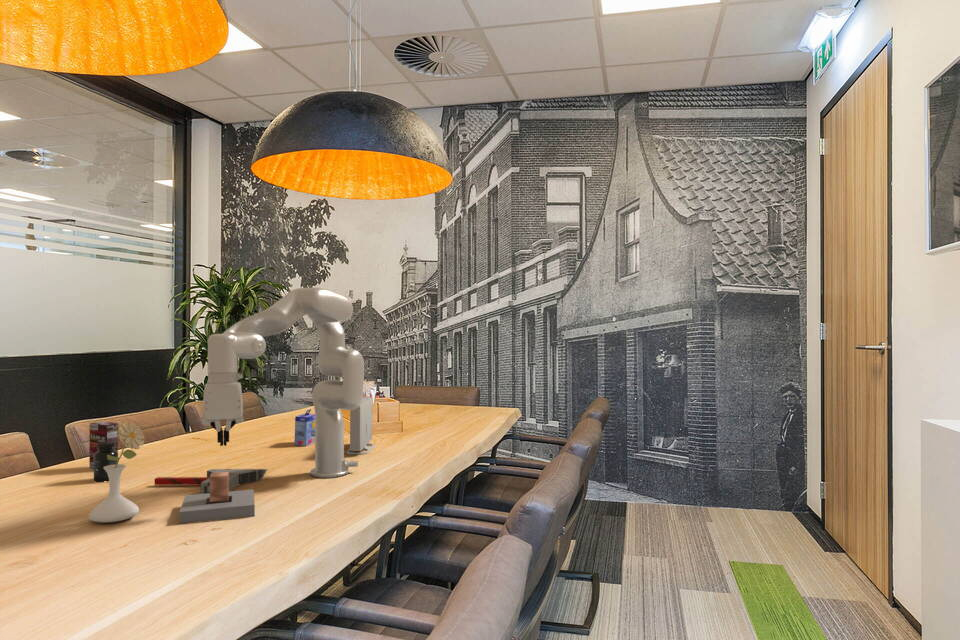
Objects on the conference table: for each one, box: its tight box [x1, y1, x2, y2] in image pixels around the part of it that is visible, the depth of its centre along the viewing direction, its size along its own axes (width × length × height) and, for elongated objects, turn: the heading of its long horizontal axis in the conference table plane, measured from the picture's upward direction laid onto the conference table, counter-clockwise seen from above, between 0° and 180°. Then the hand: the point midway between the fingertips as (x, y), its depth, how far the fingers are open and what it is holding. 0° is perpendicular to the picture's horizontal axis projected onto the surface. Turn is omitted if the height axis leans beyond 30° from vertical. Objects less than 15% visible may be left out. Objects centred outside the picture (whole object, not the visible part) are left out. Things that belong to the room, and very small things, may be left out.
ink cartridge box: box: [293, 408, 315, 447], centre depth 261 cm, size 10×6×14 cm, turn 171°
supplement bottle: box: [93, 442, 119, 483], centre depth 201 cm, size 7×7×12 cm
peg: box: [209, 472, 229, 504], centre depth 169 cm, size 5×5×10 cm
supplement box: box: [88, 421, 119, 469], centre depth 217 cm, size 9×5×16 cm, turn 68°
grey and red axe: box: [154, 468, 268, 494], centre depth 197 cm, size 24×4×30 cm
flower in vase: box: [88, 421, 146, 524], centre depth 162 cm, size 13×11×25 cm
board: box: [179, 489, 256, 524], centre depth 169 cm, size 18×16×3 cm
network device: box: [345, 396, 376, 456], centre depth 250 cm, size 26×9×20 cm, turn 179°
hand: (223, 444), depth 171 cm, fingers closed
